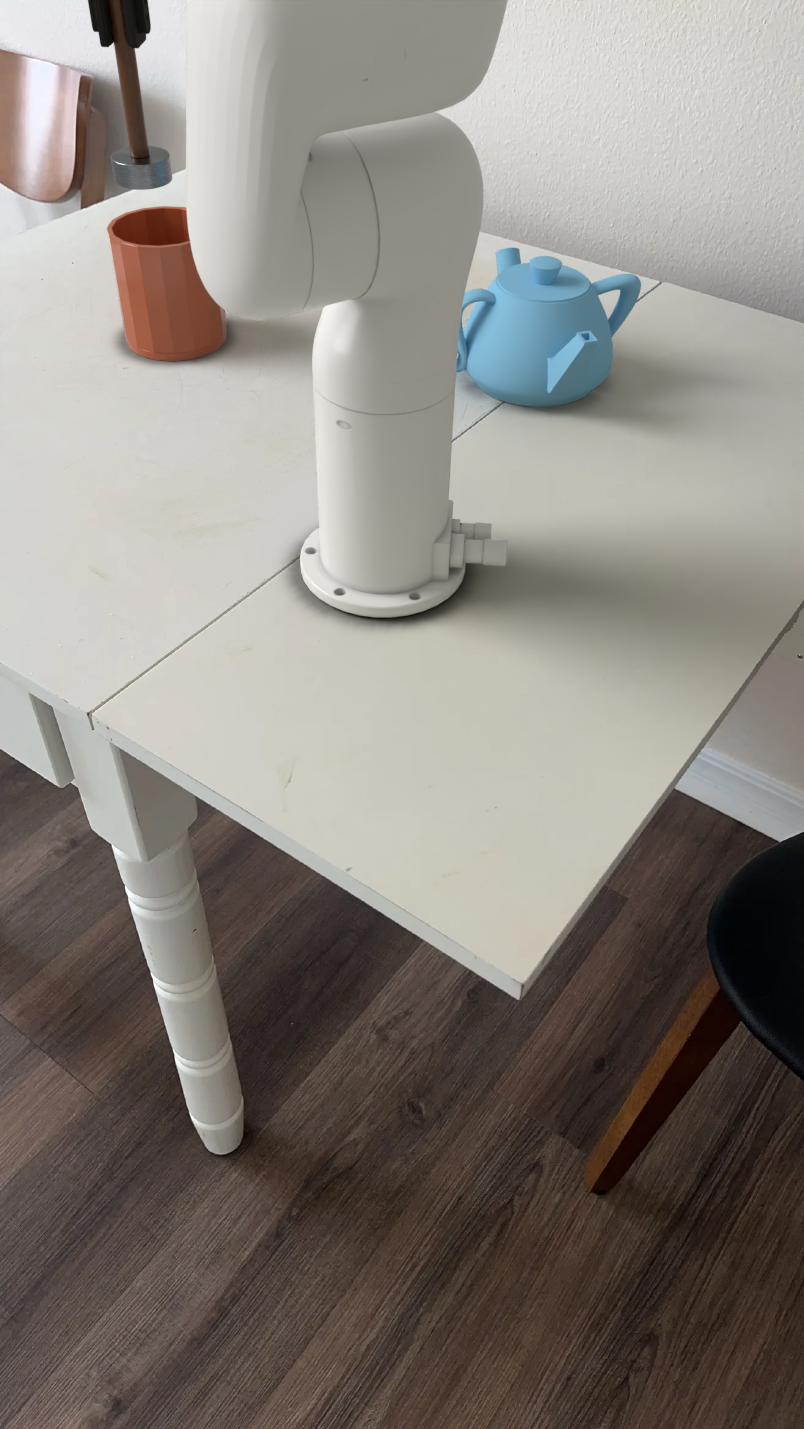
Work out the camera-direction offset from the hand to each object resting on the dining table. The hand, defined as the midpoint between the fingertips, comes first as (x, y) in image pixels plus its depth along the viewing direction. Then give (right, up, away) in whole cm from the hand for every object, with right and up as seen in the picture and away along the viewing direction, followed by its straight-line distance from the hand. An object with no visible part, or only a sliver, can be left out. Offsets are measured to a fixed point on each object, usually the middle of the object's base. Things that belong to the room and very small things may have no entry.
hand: (123, 41), depth 87 cm
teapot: (+35, -21, +18) cm, 45 cm away
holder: (0, -16, +22) cm, 27 cm away
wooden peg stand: (0, -7, +7) cm, 11 cm away
